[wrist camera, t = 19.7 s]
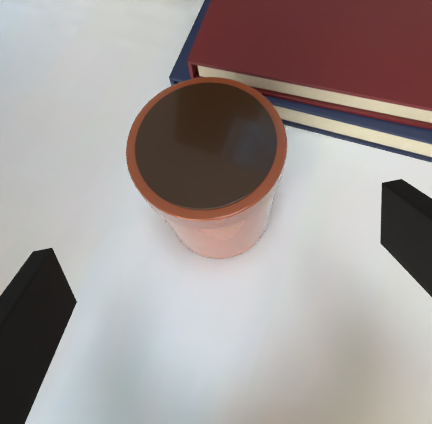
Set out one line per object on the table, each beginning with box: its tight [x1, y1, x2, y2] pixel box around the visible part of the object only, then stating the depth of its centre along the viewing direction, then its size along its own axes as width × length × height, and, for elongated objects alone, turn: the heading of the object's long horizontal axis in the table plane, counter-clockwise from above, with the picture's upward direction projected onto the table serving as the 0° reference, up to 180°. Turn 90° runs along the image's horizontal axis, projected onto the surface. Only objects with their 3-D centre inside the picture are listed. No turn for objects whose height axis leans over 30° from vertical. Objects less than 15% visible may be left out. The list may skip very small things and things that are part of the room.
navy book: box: [169, 0, 432, 162], centre depth 30 cm, size 22×15×3 cm
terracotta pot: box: [126, 77, 287, 259], centre depth 22 cm, size 8×8×10 cm
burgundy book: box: [187, 0, 432, 130], centre depth 27 cm, size 20×14×2 cm
